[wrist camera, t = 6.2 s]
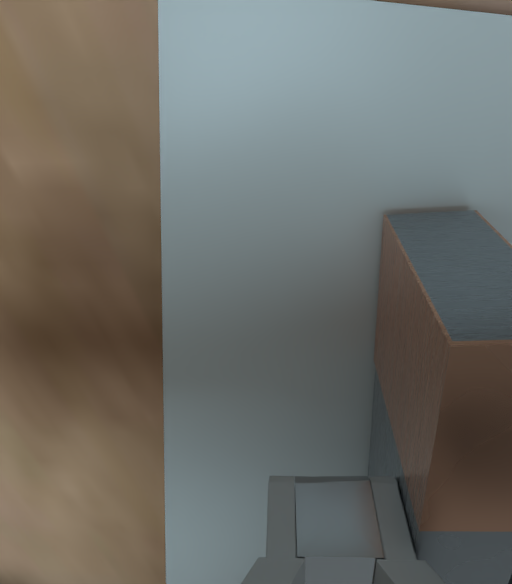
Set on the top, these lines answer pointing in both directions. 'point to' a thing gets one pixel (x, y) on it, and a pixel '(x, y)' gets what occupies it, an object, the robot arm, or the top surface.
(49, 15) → the top surface
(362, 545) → the robot arm
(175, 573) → the board
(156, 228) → the top surface
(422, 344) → the tongs jaw
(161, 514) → the top surface
